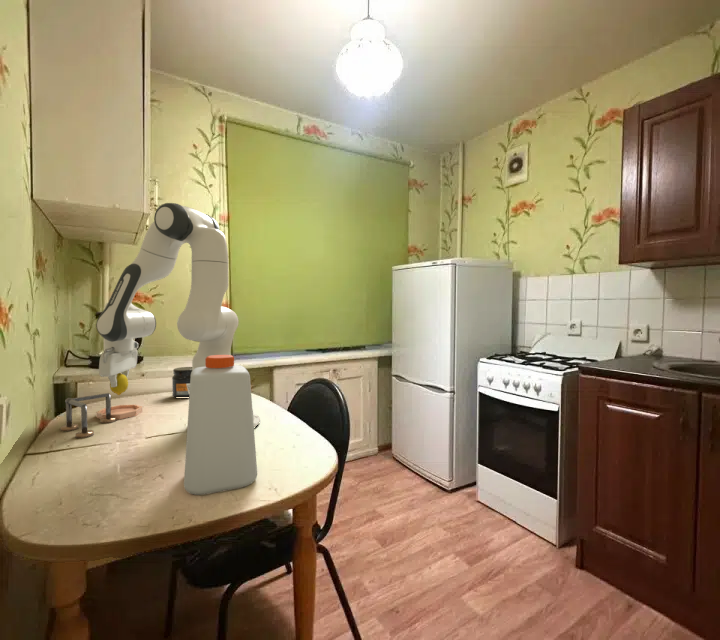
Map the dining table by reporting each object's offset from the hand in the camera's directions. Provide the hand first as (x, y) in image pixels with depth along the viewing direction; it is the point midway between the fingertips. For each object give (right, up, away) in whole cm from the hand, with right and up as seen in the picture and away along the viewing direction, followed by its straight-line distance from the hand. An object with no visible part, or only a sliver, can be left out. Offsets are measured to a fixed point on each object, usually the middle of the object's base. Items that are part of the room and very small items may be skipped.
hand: (119, 384), depth 133 cm
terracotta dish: (0, -11, 0) cm, 11 cm away
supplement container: (+11, -10, +27) cm, 31 cm away
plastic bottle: (+54, -13, -48) cm, 73 cm away
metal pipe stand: (-1, -11, -15) cm, 19 cm away
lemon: (0, -4, 0) cm, 4 cm away
